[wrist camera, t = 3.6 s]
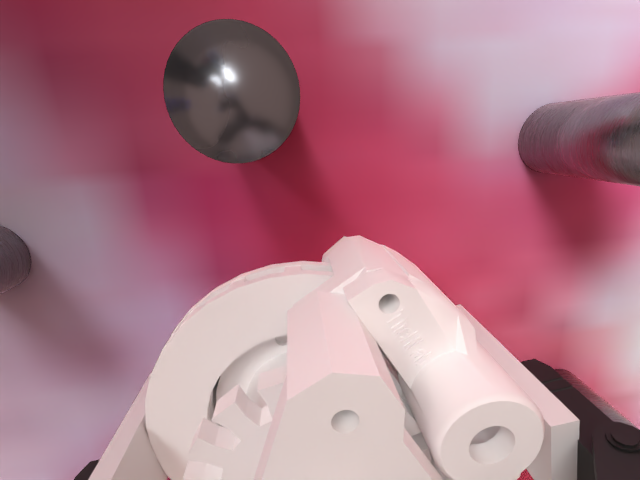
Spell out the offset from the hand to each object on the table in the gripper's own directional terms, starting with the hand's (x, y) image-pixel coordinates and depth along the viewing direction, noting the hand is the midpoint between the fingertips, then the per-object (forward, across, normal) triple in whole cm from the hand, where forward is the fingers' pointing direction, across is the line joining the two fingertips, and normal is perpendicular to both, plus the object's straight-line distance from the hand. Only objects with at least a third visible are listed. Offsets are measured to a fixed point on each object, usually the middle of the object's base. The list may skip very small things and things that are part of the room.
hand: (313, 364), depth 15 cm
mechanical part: (+3, 0, 0) cm, 3 cm away
